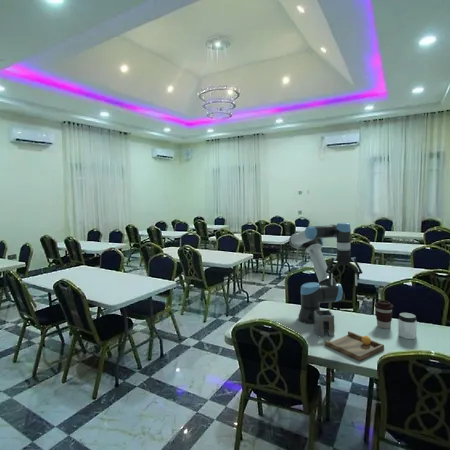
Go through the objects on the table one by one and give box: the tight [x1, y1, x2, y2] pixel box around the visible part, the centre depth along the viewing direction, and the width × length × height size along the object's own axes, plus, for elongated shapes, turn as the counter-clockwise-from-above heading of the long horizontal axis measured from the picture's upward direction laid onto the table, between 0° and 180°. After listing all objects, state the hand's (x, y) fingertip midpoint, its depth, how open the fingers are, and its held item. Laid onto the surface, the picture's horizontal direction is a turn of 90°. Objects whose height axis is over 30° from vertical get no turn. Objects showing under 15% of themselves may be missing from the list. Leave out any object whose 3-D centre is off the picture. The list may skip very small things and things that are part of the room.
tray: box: [324, 330, 385, 362], centre depth 168 cm, size 21×20×2 cm
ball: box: [362, 335, 372, 345], centre depth 169 cm, size 5×5×5 cm
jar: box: [397, 312, 418, 340], centre depth 178 cm, size 9×8×12 cm
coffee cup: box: [374, 300, 394, 330], centre depth 191 cm, size 10×10×15 cm
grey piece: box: [313, 309, 335, 338], centre depth 186 cm, size 9×9×12 cm
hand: (343, 284), depth 189 cm, fingers open, 13 cm apart
